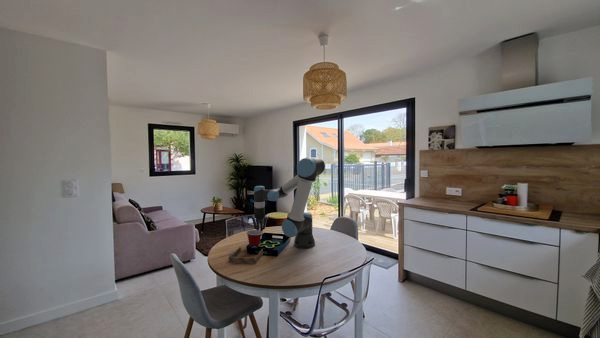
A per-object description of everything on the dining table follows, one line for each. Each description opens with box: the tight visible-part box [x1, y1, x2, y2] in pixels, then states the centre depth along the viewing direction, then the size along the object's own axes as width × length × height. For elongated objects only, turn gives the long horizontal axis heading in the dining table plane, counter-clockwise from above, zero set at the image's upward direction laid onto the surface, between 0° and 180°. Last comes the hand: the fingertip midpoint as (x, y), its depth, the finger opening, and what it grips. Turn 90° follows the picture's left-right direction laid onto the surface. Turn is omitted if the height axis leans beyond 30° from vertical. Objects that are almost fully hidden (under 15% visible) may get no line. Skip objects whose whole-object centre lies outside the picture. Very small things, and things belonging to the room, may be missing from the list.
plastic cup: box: [246, 229, 263, 247], centre depth 170 cm, size 11×11×12 cm
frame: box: [228, 246, 264, 264], centre depth 155 cm, size 17×16×3 cm
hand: (260, 238), depth 182 cm, fingers closed
